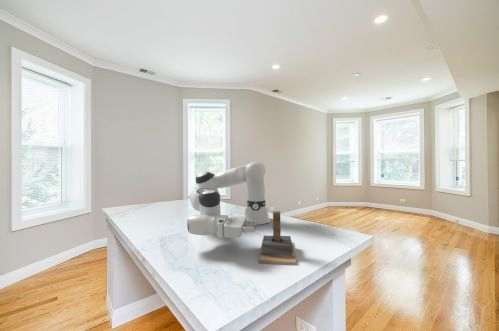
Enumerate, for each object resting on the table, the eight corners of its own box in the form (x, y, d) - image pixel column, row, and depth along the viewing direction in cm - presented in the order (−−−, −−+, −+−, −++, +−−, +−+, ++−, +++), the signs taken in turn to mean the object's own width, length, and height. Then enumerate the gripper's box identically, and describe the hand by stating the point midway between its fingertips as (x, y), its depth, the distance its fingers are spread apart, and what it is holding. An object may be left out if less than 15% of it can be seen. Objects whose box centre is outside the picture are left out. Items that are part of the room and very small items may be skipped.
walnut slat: (273, 247, 101) (273, 211, 101) (280, 248, 100) (280, 211, 100) (273, 250, 98) (273, 212, 98) (280, 250, 97) (280, 212, 97)
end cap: (262, 241, 112) (262, 231, 112) (291, 242, 110) (291, 232, 110) (258, 263, 88) (258, 250, 88) (296, 264, 86) (296, 251, 86)
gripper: (228, 226, 111) (256, 226, 110) (217, 240, 91) (252, 241, 90) (228, 213, 111) (256, 213, 110) (217, 224, 91) (252, 224, 90)
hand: (254, 225), depth 100 cm, fingers open, 8 cm apart
